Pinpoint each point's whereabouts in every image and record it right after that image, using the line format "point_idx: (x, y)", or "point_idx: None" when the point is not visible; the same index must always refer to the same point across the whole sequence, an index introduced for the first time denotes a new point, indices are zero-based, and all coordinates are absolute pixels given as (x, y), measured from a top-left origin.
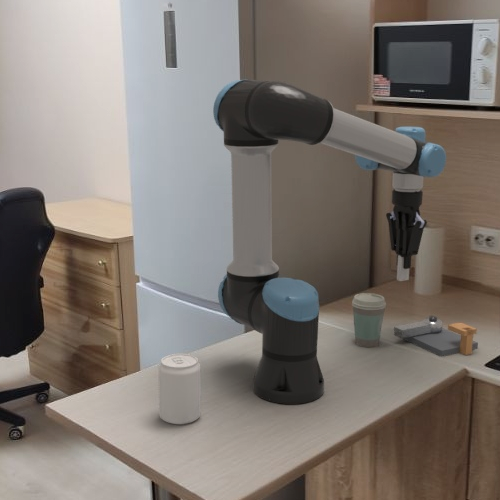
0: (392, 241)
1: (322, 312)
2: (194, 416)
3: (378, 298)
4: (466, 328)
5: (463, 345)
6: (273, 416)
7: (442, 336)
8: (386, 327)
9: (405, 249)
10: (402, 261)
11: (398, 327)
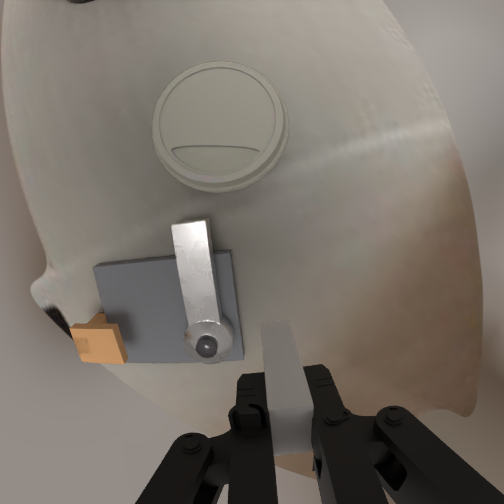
0: (422, 454)
1: (450, 178)
2: None
3: (211, 163)
4: (85, 346)
5: (96, 320)
6: None
7: (168, 326)
8: (310, 260)
9: (235, 464)
10: (266, 392)
11: (194, 228)
